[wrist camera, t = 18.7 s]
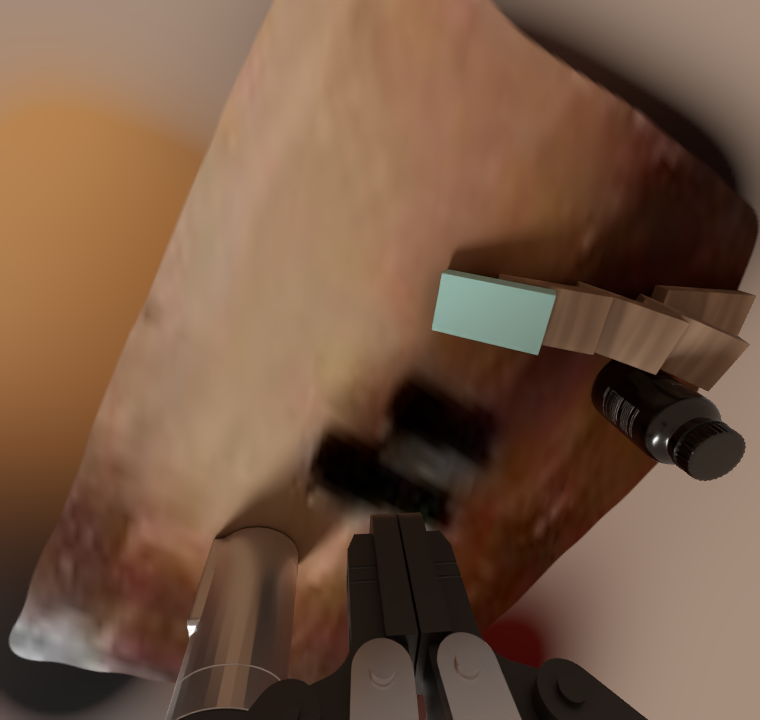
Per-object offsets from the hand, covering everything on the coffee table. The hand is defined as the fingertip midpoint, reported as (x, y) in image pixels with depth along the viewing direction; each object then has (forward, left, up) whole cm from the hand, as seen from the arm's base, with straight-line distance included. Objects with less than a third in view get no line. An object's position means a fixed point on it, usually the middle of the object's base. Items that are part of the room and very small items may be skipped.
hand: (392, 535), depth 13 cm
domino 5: (+25, -1, -25) cm, 36 cm away
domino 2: (+12, 0, -26) cm, 28 cm away
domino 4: (+28, -1, -26) cm, 38 cm away
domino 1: (+8, 0, -26) cm, 27 cm away
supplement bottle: (+28, -9, -27) cm, 40 cm away
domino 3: (+19, -1, -26) cm, 32 cm away
